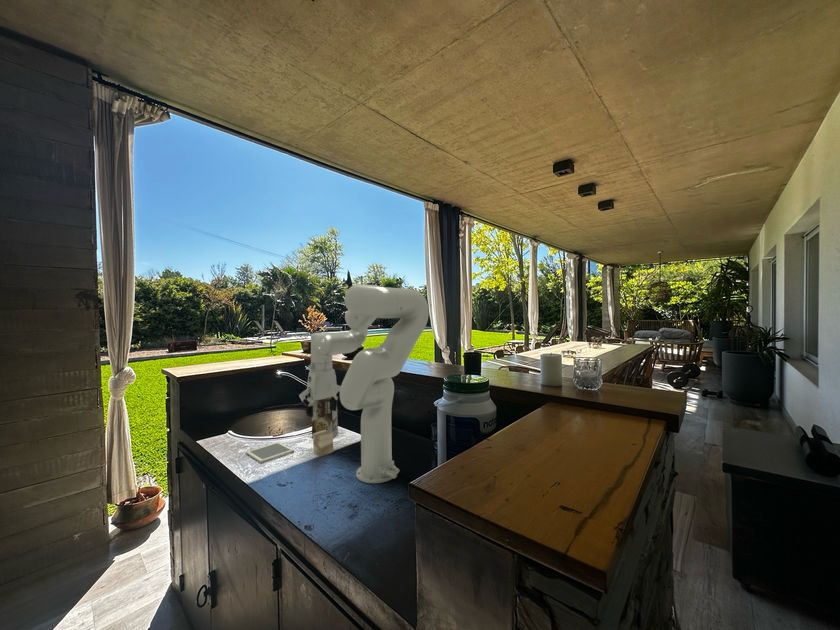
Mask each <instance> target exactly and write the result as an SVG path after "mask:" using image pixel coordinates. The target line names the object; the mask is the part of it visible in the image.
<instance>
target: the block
mask: <svg viewBox="0 0 840 630" xmlns="http://www.w3.org/2000/svg"><path fill="white" fill-rule="evenodd" d="M312 439H313V440H312V446H313V452H312V453H313V454H316V455H317V456H320V457H324V456H325V455H329V454H331V453H333V452H334V438H333V433H332V432H329V431H327V430H323V431H320V432H317V433H313V438H312Z"/></svg>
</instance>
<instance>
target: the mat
mask: <svg viewBox="0 0 840 630" xmlns="http://www.w3.org/2000/svg"><path fill="white" fill-rule="evenodd" d="M294 453H295V449H294V448H291V447H289V446H288V445H285V444H283V443H282V442H280V441H277V442H273V443H271V444H267V445H264V446H263V445H262V446H261V447H257V448H253V449H250V450H247V451H246V452H245V455H246V456H248V457H249V456H250V458H251V459H253V460H255V461H256V462H257V461H258V463H259V464H261V463H262V464H264V462H265V463H267V461H268V462H270V460H271V461H273V459H274V460H277V459H279V458H282V457H285V456H288V455H291V454H294ZM276 458H277V459H276Z"/></svg>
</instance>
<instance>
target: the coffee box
mask: <svg viewBox="0 0 840 630" xmlns="http://www.w3.org/2000/svg"><path fill="white" fill-rule="evenodd" d="M330 399H331V397H329V398H325V399H321V400H314V402H313V404H312V406H313V417H311V438H312V439H313V433H317V432H320V431H323V430H327V431H329V432H332V433H333V439H334V438H335V437H336V436H338V434H339V429H338V428H339V424H338V423H339V421H338V415H339V414H338V406H337V407H336V411H333V410H330Z"/></svg>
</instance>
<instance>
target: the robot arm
mask: <svg viewBox="0 0 840 630" xmlns="http://www.w3.org/2000/svg"><path fill="white" fill-rule="evenodd" d="M344 305H345V307H346V309H347V311H346V312H345V314H344V320H345V322H346V325H347V326H348V327H349V328H350V330H349V331H347V332H334V333H332V332H331V333H330V332H314V333H312V334H311V337H310V364H309V365H307V368H308V369H309V370H310V371H309V372H308V377H307V384H306V385H307V386H306V389H305V390H303V391H302V392H301V393H299V394H298V397H299V398H300V400H301V402H302V403H303V405H305V413H306V417H309V418H312V417H313V406H312V404H313V402H314V400H321V399H325V398H329V397H331V399H330V410H333V411H336V407H337V408H338V400H340V403H341V405H342V406H343V407H344V408H345V409H346V410H349V411H358V410H361V411H362V412H361V416H360V462H361V463H360V464H361V466H359V468H357V469H356V472H355V473H356V478H357V479H358V480H359V481H360V482H363V483H366V484H382V483H385V482H388V481H391V480H393V479H396V478H397V476H398V474H399V472H400V469H399V468H398V467H396V465H395V460H393V455H392V452H393V451H392V448H393V447H392V441H393V440H392V412H393V411H392V408H393V402H394V394H395V383H394V381H393V379H392V378H394V377H396V376H398V375H399V374H400V372H401V371H402V370H403V368H404V366H405V364H406V362H407V360H408V359H409V357H410V354H411V353H412V351H413V350H414V347H415V345H416V343H417V342H418V340H419V339H420V337H421V335H422V334H423V332H424V331H425V329H426V327H427V323H428V320H429V316H430V315H429V312H430V311H429V304H428V301H427V299H426V297H425V296H424V295H423V294H422V293H421V292H420V291H418V290H415V289H411V288H404V287H403V288H400V287H386V286H380V285H375V284H362V283H361V284H360V283H359V284H358V283H357V284H354V285H351V286H350V287H349V288H348V289H347V290H346V292H345V295H344ZM378 318H379V319H399V320H398V321H397V322H396V323H395V324H394V325H393V326H392V327H391V328H390V330H389V331H388V333H387V335H386V337H385V339H384V341H383V342H382V343H381V344H380V345H379V346H376V347H369V348H364V349H362V350H360V351H359V352H358V353H356V355H354V357H353V359H352V361H351V363H350V364H349V368H348V370H346V373H345V376H344V377H343V380H342V382H341V385H339V384H337V375H336V371H335V369H334V368H333V356H336V355H337V356H338V355H342V354H351V353H353V352H355V351H357V350H358V349H359V348H360V347H361V346H362V345H363V344H364V342H365V341H366V340H367V337H368V333H369V331H368V327H370V326H371V325H372V323H374V322H375V321H376V319H378ZM306 396H307V398H306Z"/></svg>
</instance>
